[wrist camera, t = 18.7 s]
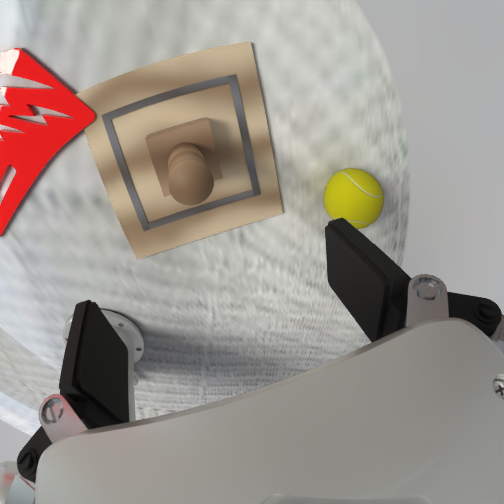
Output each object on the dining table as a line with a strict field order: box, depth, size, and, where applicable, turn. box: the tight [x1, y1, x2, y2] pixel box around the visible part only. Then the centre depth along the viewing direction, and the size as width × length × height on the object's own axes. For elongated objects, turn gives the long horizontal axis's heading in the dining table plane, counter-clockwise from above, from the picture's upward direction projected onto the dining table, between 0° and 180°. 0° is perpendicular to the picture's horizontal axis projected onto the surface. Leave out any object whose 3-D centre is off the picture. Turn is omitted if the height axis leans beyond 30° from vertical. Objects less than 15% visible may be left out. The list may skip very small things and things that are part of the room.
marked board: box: [75, 42, 283, 260], centre depth 28 cm, size 20×18×1 cm
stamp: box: [145, 117, 223, 205], centre depth 24 cm, size 6×6×10 cm
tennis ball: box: [324, 168, 384, 229], centre depth 33 cm, size 7×7×7 cm
